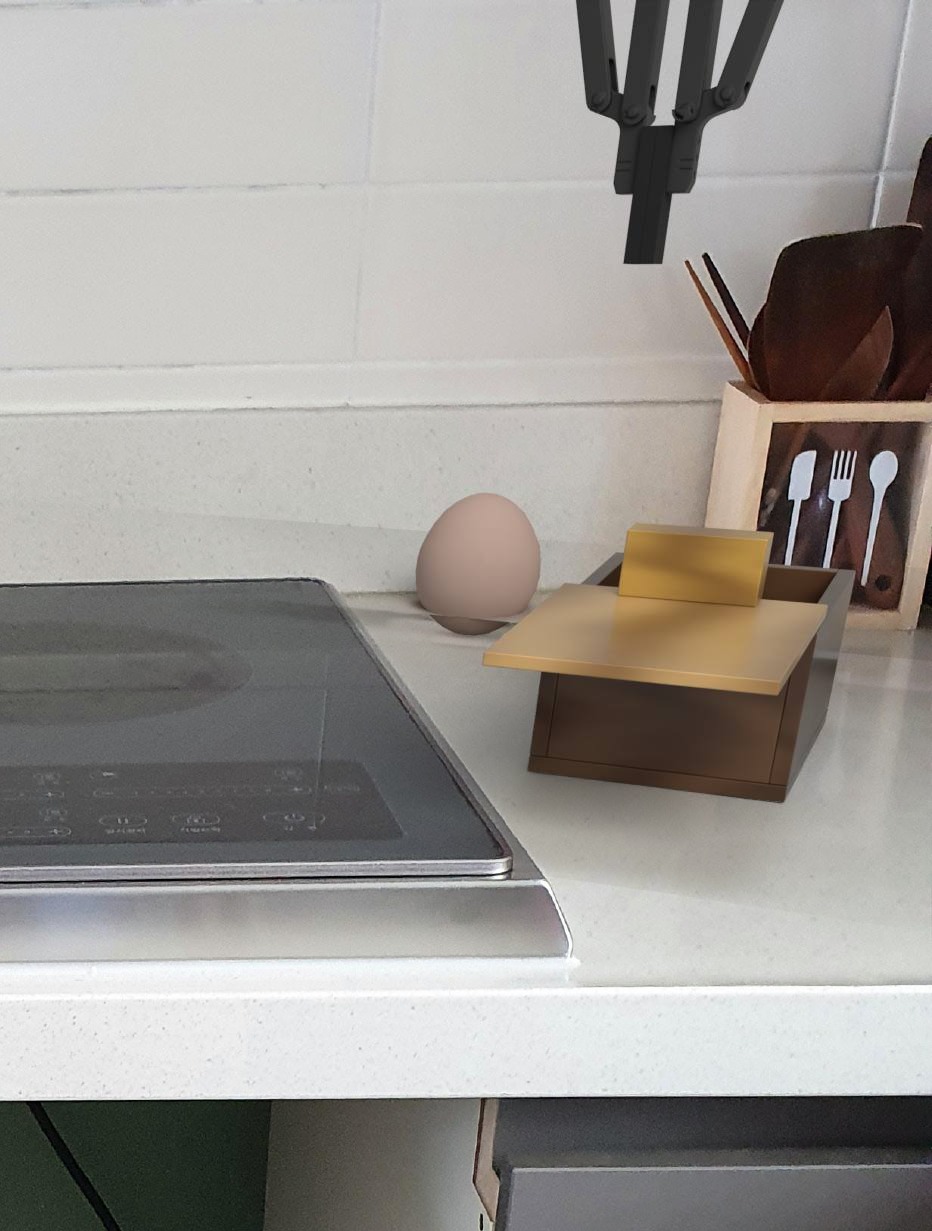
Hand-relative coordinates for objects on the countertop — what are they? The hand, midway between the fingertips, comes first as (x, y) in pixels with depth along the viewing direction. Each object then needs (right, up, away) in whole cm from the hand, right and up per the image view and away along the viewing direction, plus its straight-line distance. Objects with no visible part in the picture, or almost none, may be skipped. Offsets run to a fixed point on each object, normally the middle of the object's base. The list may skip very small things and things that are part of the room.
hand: (642, 263), depth 110 cm
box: (0, -26, -5) cm, 27 cm away
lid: (-7, -24, -18) cm, 31 cm away
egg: (-3, -15, +18) cm, 24 cm away
